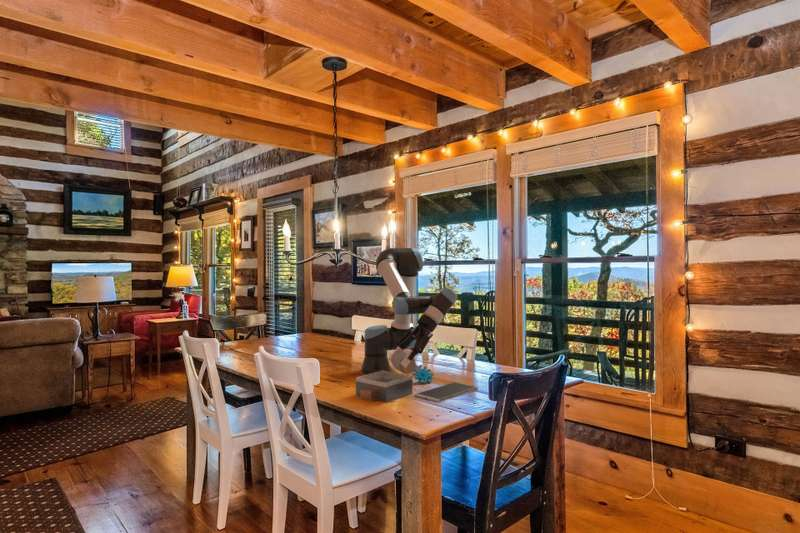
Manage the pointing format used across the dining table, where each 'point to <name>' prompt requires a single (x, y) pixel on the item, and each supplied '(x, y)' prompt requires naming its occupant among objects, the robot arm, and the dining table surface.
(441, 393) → the grey flat slab
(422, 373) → the gear
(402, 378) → the grey hollow block
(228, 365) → the dining table surface
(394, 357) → the ceramic mug
